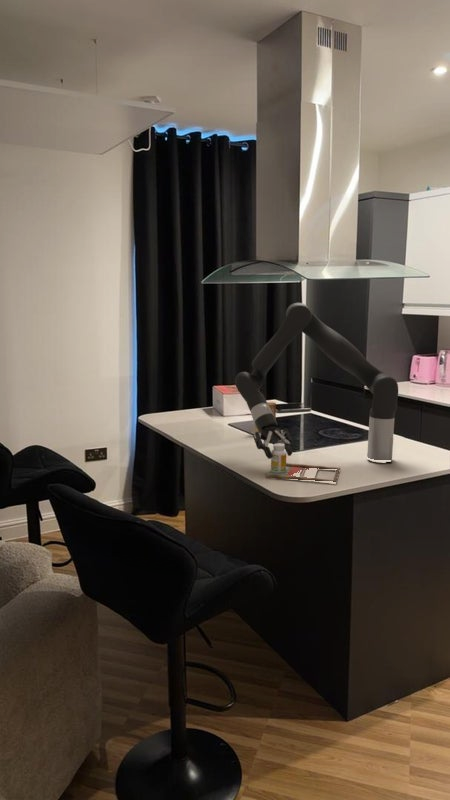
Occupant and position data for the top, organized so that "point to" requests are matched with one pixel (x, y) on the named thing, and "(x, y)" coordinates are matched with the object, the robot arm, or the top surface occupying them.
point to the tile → (280, 473)
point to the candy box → (273, 409)
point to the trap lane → (304, 477)
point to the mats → (294, 470)
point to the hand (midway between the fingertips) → (280, 456)
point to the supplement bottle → (278, 458)
